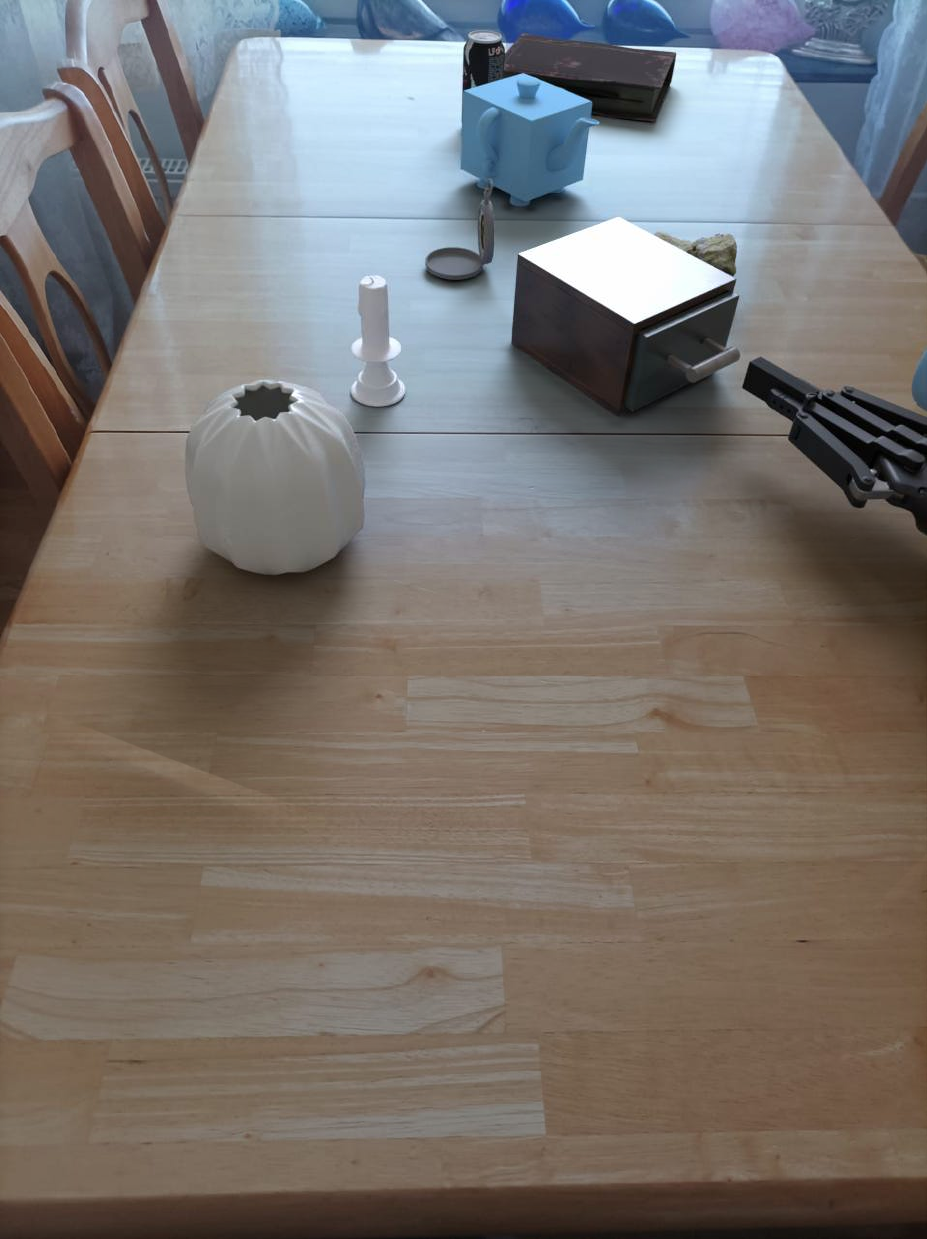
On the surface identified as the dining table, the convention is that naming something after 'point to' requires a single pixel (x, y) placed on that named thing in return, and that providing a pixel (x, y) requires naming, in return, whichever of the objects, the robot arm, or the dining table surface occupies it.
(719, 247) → the rock
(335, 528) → the vase
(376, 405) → the candle
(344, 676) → the dining table surface
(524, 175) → the teapot
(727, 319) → the drawer
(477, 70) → the beverage can
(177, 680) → the dining table surface
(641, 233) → the cabinet
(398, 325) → the dining table surface
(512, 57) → the diary
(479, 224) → the pocket watch
